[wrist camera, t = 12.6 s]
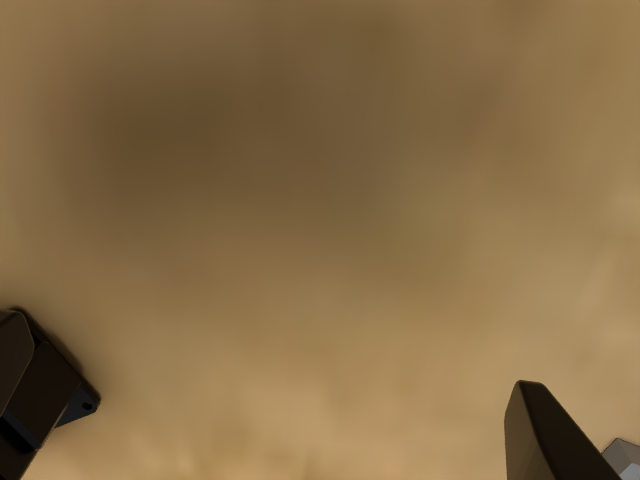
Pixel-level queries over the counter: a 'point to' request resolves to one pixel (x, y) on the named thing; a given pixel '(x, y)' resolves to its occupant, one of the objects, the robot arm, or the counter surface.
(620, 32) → the counter surface
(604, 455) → the ball rail dock
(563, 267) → the counter surface
